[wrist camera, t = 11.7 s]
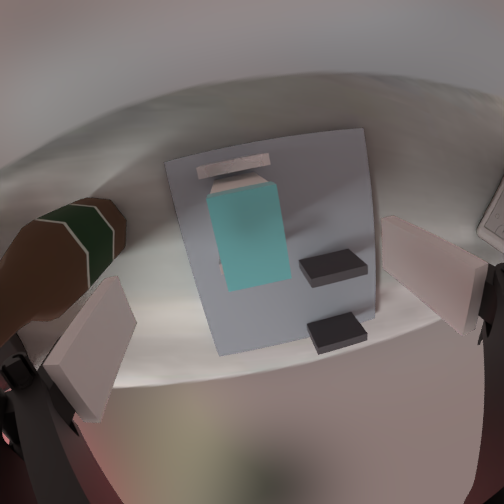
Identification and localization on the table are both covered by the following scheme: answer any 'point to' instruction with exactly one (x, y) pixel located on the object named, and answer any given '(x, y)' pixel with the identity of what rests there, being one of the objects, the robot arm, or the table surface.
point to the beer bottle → (57, 261)
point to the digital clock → (494, 221)
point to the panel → (296, 233)
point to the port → (232, 169)
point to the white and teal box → (248, 231)
